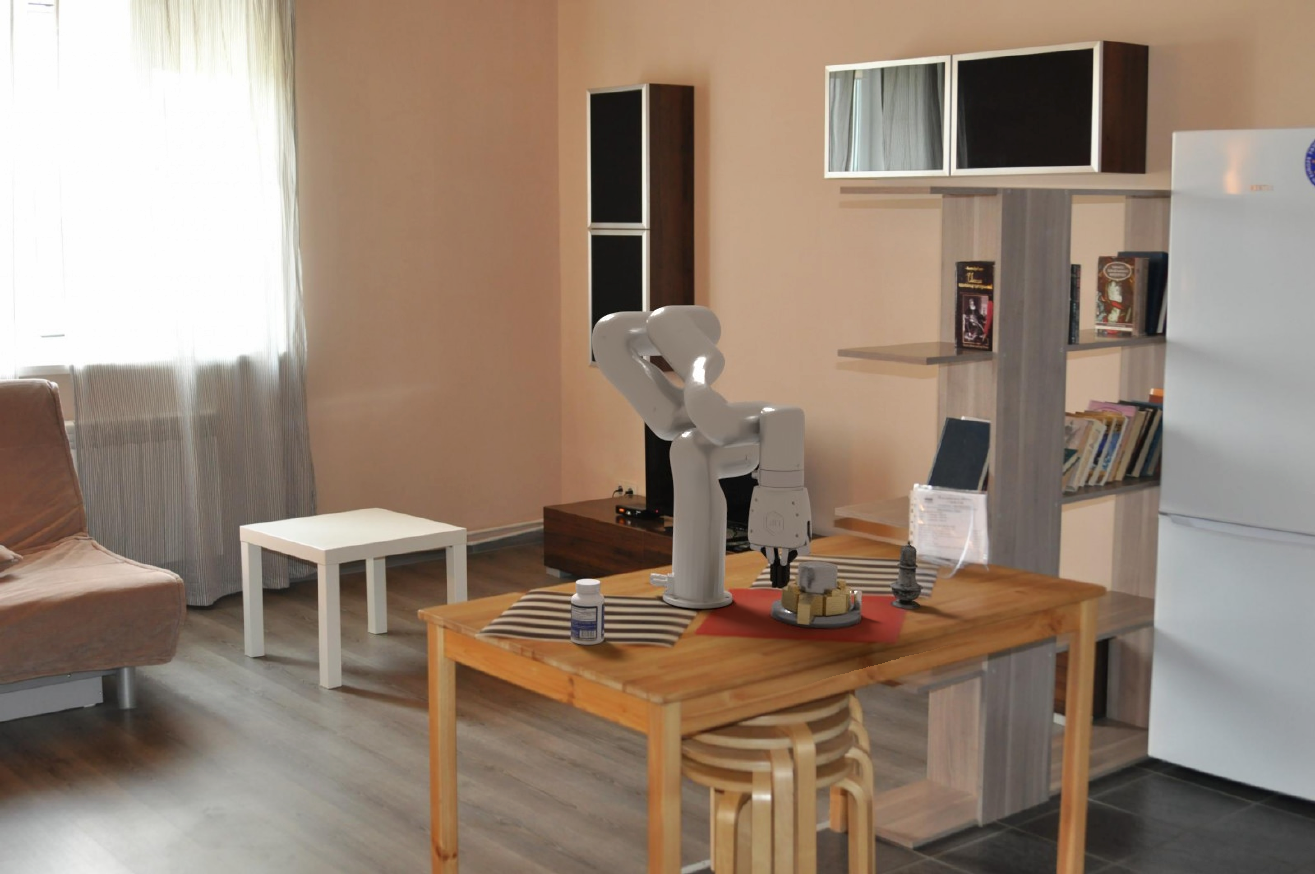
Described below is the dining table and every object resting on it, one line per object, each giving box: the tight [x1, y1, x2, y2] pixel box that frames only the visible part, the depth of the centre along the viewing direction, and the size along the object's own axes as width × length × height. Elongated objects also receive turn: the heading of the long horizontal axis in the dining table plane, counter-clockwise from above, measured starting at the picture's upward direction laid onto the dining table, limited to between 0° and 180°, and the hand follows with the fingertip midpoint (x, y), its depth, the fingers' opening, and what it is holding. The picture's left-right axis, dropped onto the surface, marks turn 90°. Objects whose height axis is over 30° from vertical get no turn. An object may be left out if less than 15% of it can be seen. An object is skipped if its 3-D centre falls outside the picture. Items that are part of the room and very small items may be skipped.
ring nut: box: [780, 575, 853, 625], centre depth 229 cm, size 18×12×4 cm, turn 163°
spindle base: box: [770, 560, 863, 630], centre depth 232 cm, size 16×16×9 cm
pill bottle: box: [570, 578, 606, 646], centre depth 213 cm, size 5×5×10 cm
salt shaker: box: [889, 540, 924, 610], centre depth 241 cm, size 6×6×12 cm
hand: (779, 586), depth 225 cm, fingers closed
